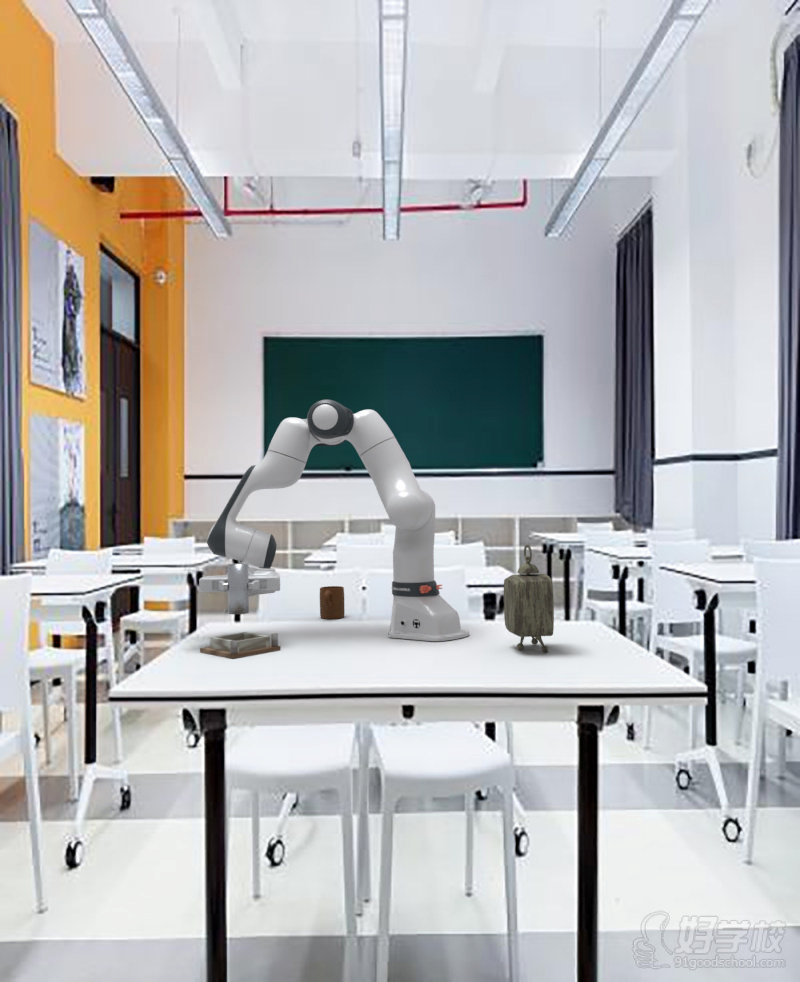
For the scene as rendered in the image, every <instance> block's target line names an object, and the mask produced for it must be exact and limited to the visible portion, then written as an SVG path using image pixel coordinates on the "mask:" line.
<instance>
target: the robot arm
mask: <svg viewBox="0 0 800 982" xmlns="http://www.w3.org/2000/svg"><path fill="white" fill-rule="evenodd" d="M346 441H348V442H349V443H350V444H351V445H352V446H353V448H354V449H355V450H356V453H357V454H358V456H359V458H360V459H361V462H362V463H363V465H364V467H365V469H366V470H367V471H366V472H367V473H368V474H369V476H370V478H371V480H372V482H373V484H374V486H375V488H376V492H377V494H378V496H379V499H380V501H381V503H382V505H383V509H384V510H385V513H386V514H387V516H388V519H389V521H390V522H391V524H392V525H394V527H395V534H394V543H393V550H392V568H393V569H392V572H393V573H392V575H393V577H392V578H393V581H392V582H391V595H392V597H393V600H392V601H393V602H392V606H391V607H392V609H391V619H390V626H389V630H388V637H389V638H393V639H406V640H413V641H414V640H416V641H428V642H445V641H452V640H458V639H461V638H463V639H464V638H466V637H468V636H470V631H469V630H466V629H465V630H464V629H461V621H460V615H459V613H458V611H457V610H456V609H455V608H454V607H452V606H451V605H450V604H449V603H448V602H447V600H445V599H444V598H443V597H442V596H441V593H440V591H439V590H442V589H443V584H437V582H436V580H435V569H434V568H435V564H434V563H435V560H434V558H435V556H434V555H435V554H434V553H435V551H434V549H435V547H434V546H435V530H436V504H435V501H434V499H433V498H432V496H431V495H430V494H429V493H428V492H426V491H425V490H422V489H421V487H420V485H419V482H418V480H417V479H416V476H415V474H414V471H413V469H412V466H411V464H410V461H409V460H408V458H407V457H406V456H407V455H406V454H405V452H404V451H403V449H402V448H401V445H400V444H399V442H398V440H397V438H396V437H395V435H394V433H393V431H392V430H391V428H390V427H389V425H388V424H387V422H386V421H385V420H384V419H383V417H381V415H380V414H379V413H378V412H377V411H375V409H369V408H368V409H367V408H366V409H363V410H360V411H357V412H356V413H353V411H352V410H351V409H350V408H348V407H346V406H345V405H343V404H342V403H340V402H338V401H335V400H332V399H321V400H318V401H316V402H315V403H314V404H312V405H311V407H310V408H309V410H308V412H307V417H306V418H299V417H286V418H284V419H282V421H280V423H279V425H278V427H277V428H276V431H275V433H274V434H273V437H272V438H271V441H270V443H269V445H268V449H267V451H266V453H265V455H264V457H263V458H262V459H261V461H260V462H258V463H257V464H254V465H251V466H249V468H247V469H246V470H245V472H244V474H243V475H242V477H241V478H240V480H239V482H238V483H237V486H236V487H235V489H234V491H233V493H232V494H231V496H230V498H229V500H228V502H227V503H226V505H225V507H224V509H223V511H222V512H221V514H220V516H219V517H218V518H217V520H216V521H215V522H214V523H213V525H212V526H211V528H210V530H209V532H208V535H207V538H206V544H207V546H208V548H209V550H210V551H211V552H212V554H213V555H215V556H219V557H220V556H221V557H222V558H223V557H224V558H230V559H232V560H235V561H238V562H239V563H245V564H248V582H249V583H248V586H249V587H248V590H249V598H251V597H254V596H258V595H265V594H274V593H276V592H279V591H280V590H281V575H280V573H279V572H277V571H276V568H274V567H272V565H273V563H274V559H275V556H276V553H277V552H276V551H277V541H276V538H275V536H274V535H273V534H272V533H269V532H267V531H264V530H261V529H259V528H254V527H251V526H248V525H244V524H242V523H239V522H238V521H237V520H236V519H237V517H238V515H239V513H240V512H241V509H242V508H243V507H244V504H245V503H246V501H247V500H248V498H249V496H250V495H251V494H252V493H254V492H256V491H259V490H273V489H285V488H289V487H292V486H293V485H295V484H297V482H298V481H299V480H300V478H301V477H302V474H303V472H304V470H305V467H306V464H307V461H308V458H309V455H310V453H311V450H312V449H313V448H314V447H315V446H316V447H337V446H339V445H342V444H344V443H345V442H346ZM198 582H199V583H198V586H199V587H198V589H199V593H228V572H227V573H226V574H225V575H224V574H223V575H206V576H203V577H200V578H199V579H198Z"/></svg>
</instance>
